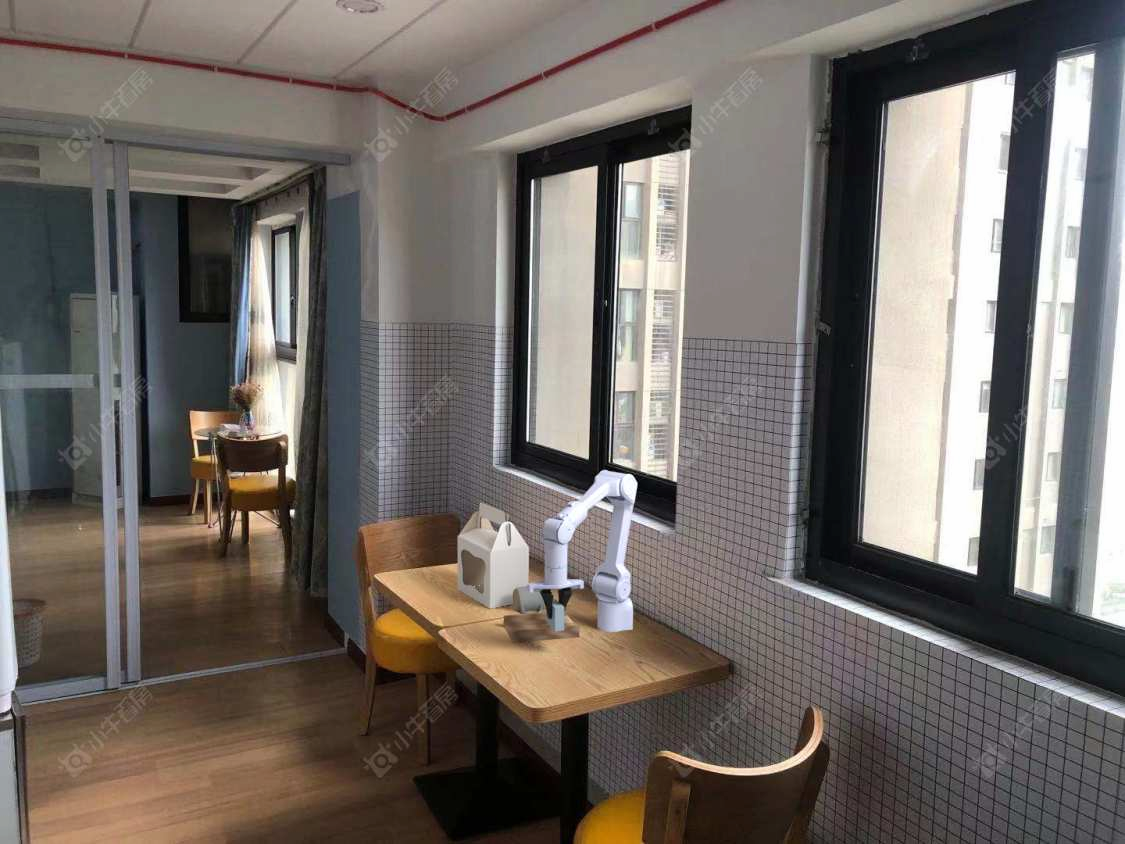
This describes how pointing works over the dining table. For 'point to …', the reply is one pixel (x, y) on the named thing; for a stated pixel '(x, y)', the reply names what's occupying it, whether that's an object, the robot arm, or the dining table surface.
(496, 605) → the gable box
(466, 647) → the dining table surface
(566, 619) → the offcut top
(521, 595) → the ceramic mug
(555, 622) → the block
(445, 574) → the dining table surface
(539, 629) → the rack
